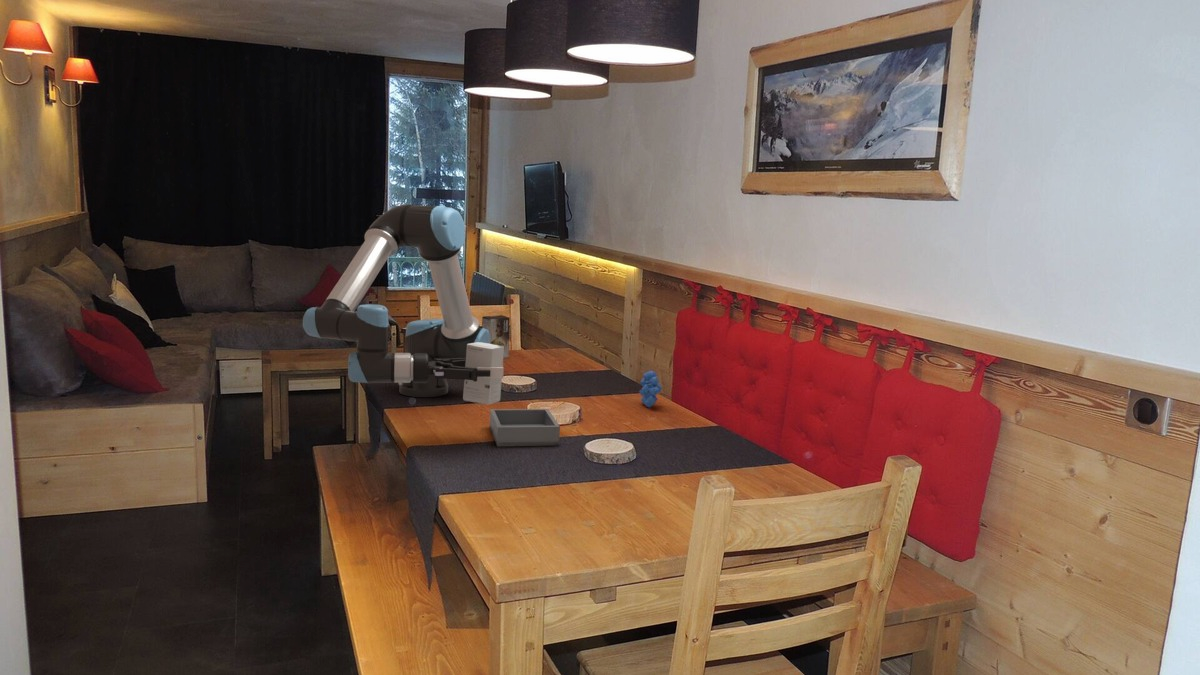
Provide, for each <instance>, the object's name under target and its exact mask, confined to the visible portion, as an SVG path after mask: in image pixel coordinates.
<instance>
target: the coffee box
mask: <svg viewBox="0 0 1200 675" xmlns="http://www.w3.org/2000/svg"><path fill="white" fill-rule="evenodd" d="M510 319H511V318H510V317H508V316H506V315H502V314H500V315H496V314H495V315H486V316H482V321H481V323H482V324H481V328H485V329H487V330H488V331H489V334H490V344H494V345H498V346H503V347H504V355H503V359H504V358H505V359H507V358H509V357H510V321H511V320H510Z"/></svg>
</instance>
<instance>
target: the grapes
mask: <svg viewBox="0 0 1200 675" xmlns="http://www.w3.org/2000/svg"><path fill="white" fill-rule="evenodd" d="M657 376H658V375H657V373H656V371H654V370H650V371H649V370H648V371H646V372H644V373H643V376H642V377H643V378H642V379H641V380H640V382H639V383H640V385H641V386H642V387H641V388H640V390H639V394H640V395H641V396H642V397H641V399H640V401H641V402H642V404H643V405H645V407H647V408H651V407H653V405H654V404H655V403H657V401H658V397H657V395H658V394H659V393H660V392H662V389H663V387H662V385H661V384H659V383H660V380H659V378H658V377H657Z"/></svg>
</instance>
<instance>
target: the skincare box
mask: <svg viewBox="0 0 1200 675" xmlns="http://www.w3.org/2000/svg"><path fill="white" fill-rule="evenodd" d="M503 355H504V347H503V346H498V345H494V344H488V343H482V342H476V343H470V344H467V350H466V364H465V367H469V368H477V367H503V368H504V358H503ZM502 379H503V378H477V381H476V382H474V380H463V391H462V392H463V394H462V400H463V401H465V402H472V403H477V404H478V403H479V404H482V405H487V406H489V405H492V404H495V403H498V402H501V396H502V394H501V393H502V391H501V390H502Z"/></svg>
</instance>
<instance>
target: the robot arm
mask: <svg viewBox="0 0 1200 675" xmlns="http://www.w3.org/2000/svg"><path fill="white" fill-rule="evenodd" d="M465 226H466V225H465V221H464V219H463V217H462V215H461V214H460V212H459V211H458V210H456V209H455V208H453V207H447V206H444V205H443V206H442V205H437V206H435V205H434V206H433V205H417V204H400V205H397V206H394V207H392V208H390V209H389V210H387V211H385V212H384V213H383V214H381V215H380V216H379V217H378V218H377V219H375V220H374V221H373V222H372V223H371V225H370V226H369V227H368V228H367V230H366V231H365V233H364V242H363V243H362V244H361V246H360V248H359V249H358V251H357V252H356V254H355V255H354V256H353V258H352V260H351V261H350V263H349V265H348V266H347V268H346V269H345V271H343V274H342V275H341V277H340V278H339V279H338V282H337V283H336V284H335V286H333V288H332V290H331V291H330V293H329V294H328V296H327V297H326V299H325V301H323V304H322V305H321V306H315V307H314V306H313V307H310V308H308V309H307V310H306V311H305V313H304V314H303V317H302V328H303V330H304V332H305V334H306V335H308V336H310V337H315V338H318V339H328V340H329V339H330V340H339V341H346V342H355V343H356V351H355V352H350V353H349V355H348V362H347V363H348V364H347V366H348V367H347V372H348V373H347V374H348V379H349V381H350V382H352V383H364V384H365V383H366V384H374V383H375V384H378V383H379V384H381V383H382V384H383V383H385V384H387V383H388V384H390V383H392V384H394V383H398V386H399V388H398V389H399V390H398V391H399V394H401V395H404V396H407V397H413V398H434V397H435V398H436V397H441V396H445V395H446V394H448V393H449V384H448V381H447V380H463V381H464V380H474V382H476V381H477V378H502V379H504V366H503V367H477V368H469V367H465V364H466V350H467V344H470V343H476V342H482V343H488V344H490V334H489V331H488V330H487V329H485V328H482V327H481V326H480V322H479V319H478V318H477V317H476V316H473V314H472V309H471V307H470V301H469V297H468V293H467V288H466V286H465V281H464V277H463V272H462V269H461V264H460V260H459V255H458V254H459V253H460V252H461V250H462V247H463V245H464V243H465V240H466V233H465V232H466V227H465ZM402 247H412V248H418V252H419V255H420V257H421V259H422V260H424V261H426V262H427V263H428V268H429V271H430V275H431V278H432V282H433V286H434V289H435V293H436V297H437V301H438V305H439V308H440V312H441V315H442V318H427V319H418V320H413V321H410V322H408V323H407V325H406V329H405V336H404V337H405V352H389V347H388V346H389V326H390V322H389V310H388V308H387V307H386V306H385V305H381V304H360V303H361V302H362V300H363V299H364V297H365V295H366V293H367V292H368V290H369V289H370V287H371V286H372V284H373V283H374V281H375V279H376V278H377V276H378V274H379V273H380V271H381V270H382V268H383V267H384V265H385V264H386V263H387V260H388V259H389V257H391V256H393V255H395V254H396V253H397V252H398V250H399V249H400V248H402Z"/></svg>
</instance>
